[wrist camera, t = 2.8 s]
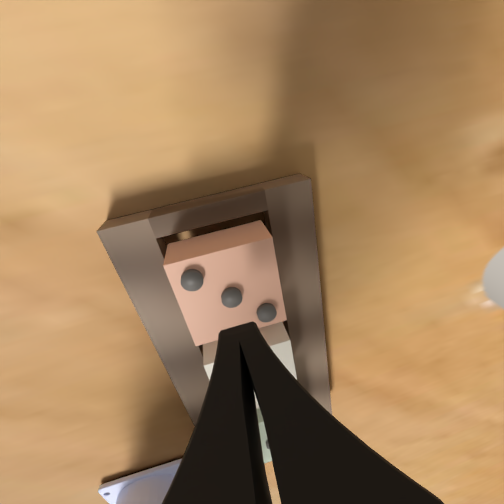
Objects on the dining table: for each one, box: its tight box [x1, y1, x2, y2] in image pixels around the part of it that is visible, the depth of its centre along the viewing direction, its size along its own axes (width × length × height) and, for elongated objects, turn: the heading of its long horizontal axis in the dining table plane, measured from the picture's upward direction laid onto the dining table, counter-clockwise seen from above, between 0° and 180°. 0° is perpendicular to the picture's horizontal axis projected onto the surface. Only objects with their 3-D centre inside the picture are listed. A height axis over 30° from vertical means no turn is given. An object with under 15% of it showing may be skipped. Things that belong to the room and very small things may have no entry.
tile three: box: [163, 220, 287, 346], centre depth 14 cm, size 5×5×3 cm
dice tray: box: [97, 174, 332, 426], centre depth 19 cm, size 21×11×2 cm, turn 11°
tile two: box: [203, 322, 297, 409], centre depth 17 cm, size 5×5×3 cm
